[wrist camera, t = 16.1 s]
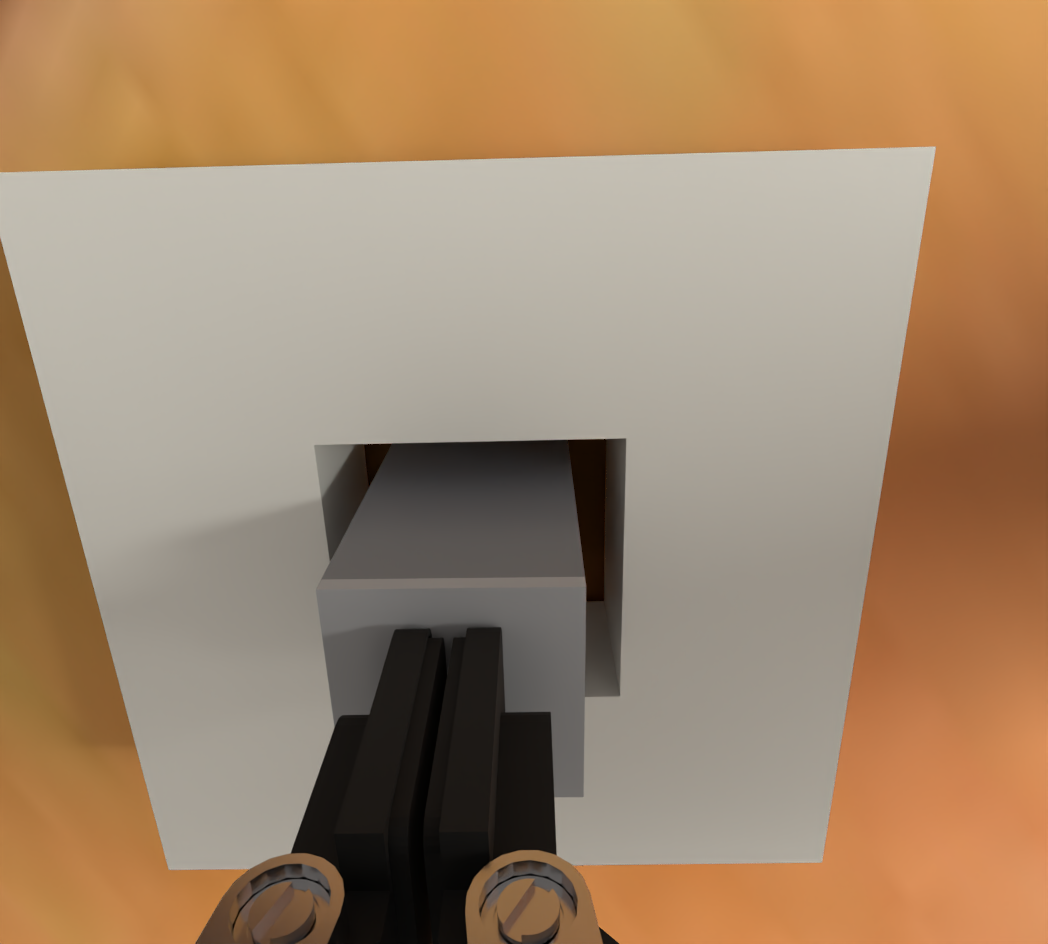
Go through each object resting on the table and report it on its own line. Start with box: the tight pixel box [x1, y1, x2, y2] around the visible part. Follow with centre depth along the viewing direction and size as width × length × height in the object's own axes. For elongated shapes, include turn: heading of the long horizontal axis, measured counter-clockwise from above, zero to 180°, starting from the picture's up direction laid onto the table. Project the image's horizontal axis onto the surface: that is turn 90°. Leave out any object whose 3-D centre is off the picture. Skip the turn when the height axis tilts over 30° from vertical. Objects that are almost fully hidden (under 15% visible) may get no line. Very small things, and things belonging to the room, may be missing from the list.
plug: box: [316, 440, 586, 797], centre depth 16 cm, size 4×4×8 cm
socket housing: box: [0, 147, 936, 870], centre depth 18 cm, size 16×16×4 cm
